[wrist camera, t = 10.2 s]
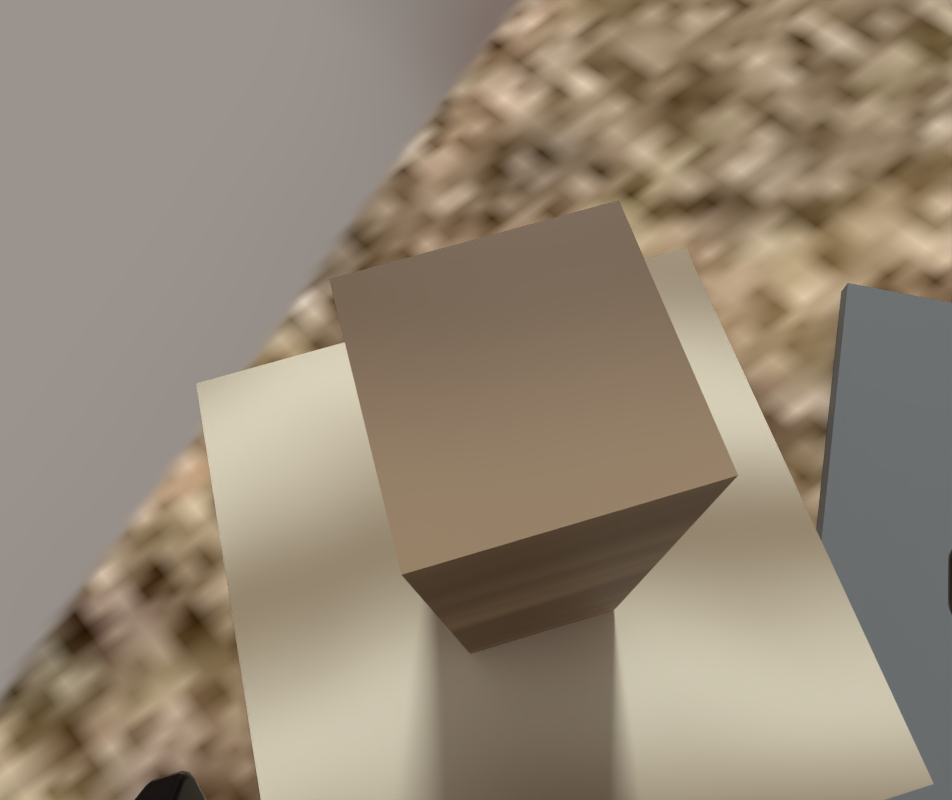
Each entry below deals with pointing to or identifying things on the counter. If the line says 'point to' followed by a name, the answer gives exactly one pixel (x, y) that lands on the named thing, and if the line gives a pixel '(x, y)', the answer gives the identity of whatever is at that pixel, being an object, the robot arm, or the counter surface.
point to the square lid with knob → (535, 546)
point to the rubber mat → (896, 503)
